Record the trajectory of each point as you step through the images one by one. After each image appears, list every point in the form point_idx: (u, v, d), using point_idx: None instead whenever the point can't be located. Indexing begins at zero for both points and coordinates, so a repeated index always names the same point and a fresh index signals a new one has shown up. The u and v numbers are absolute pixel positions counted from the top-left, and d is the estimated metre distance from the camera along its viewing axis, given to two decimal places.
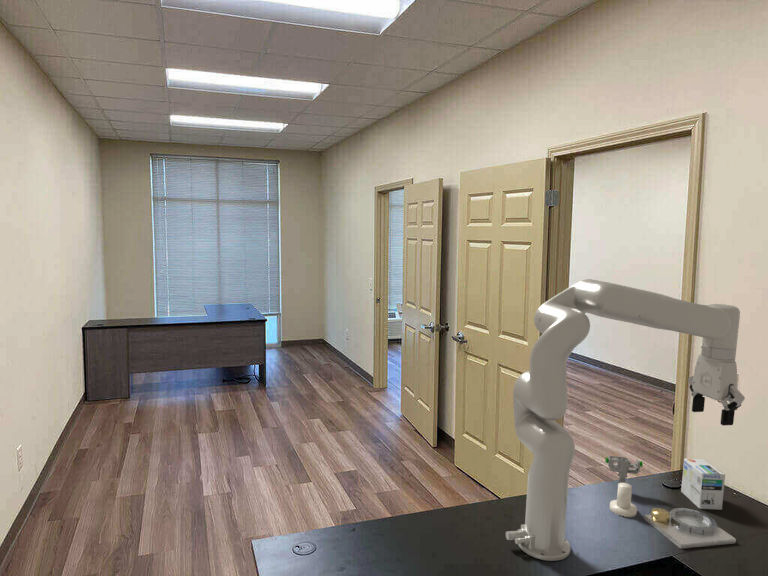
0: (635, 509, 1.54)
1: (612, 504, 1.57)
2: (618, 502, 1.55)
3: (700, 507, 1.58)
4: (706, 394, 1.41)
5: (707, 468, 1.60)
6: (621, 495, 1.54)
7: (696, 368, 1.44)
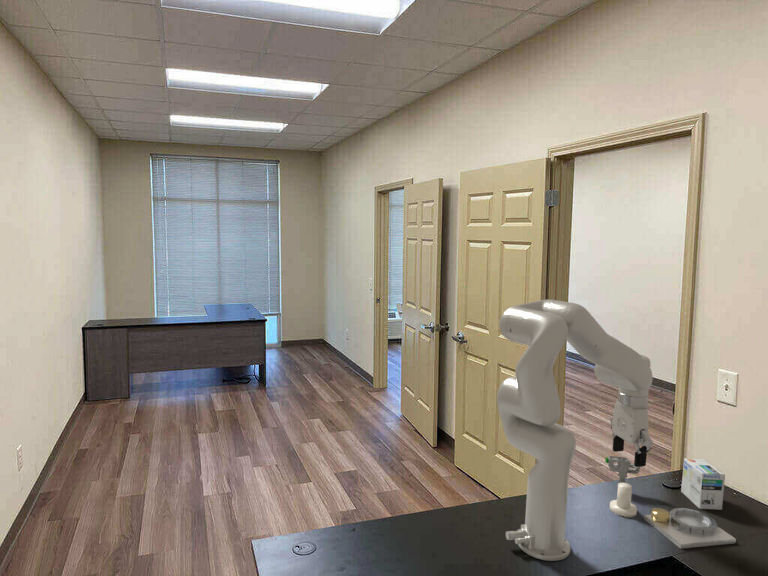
0: (635, 509, 1.54)
1: (612, 504, 1.57)
2: (618, 502, 1.55)
3: (700, 507, 1.58)
4: (622, 437, 1.53)
5: (707, 468, 1.60)
6: (621, 495, 1.54)
7: (614, 412, 1.56)
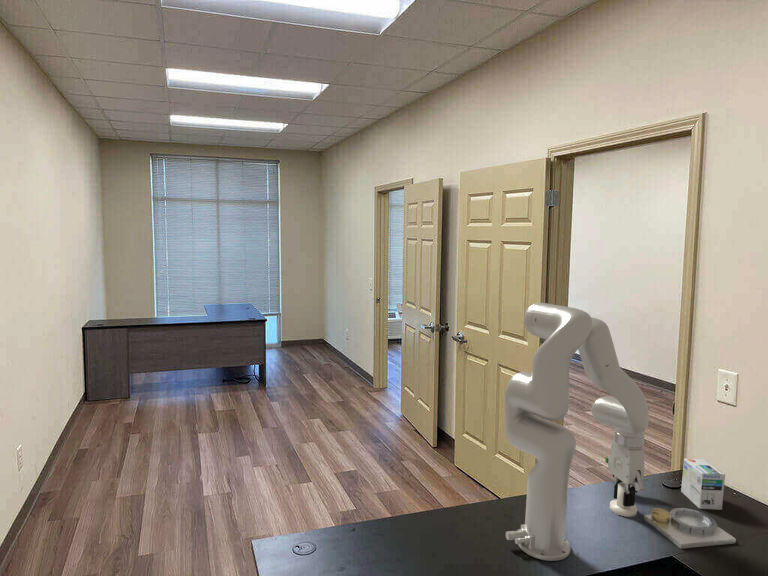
0: (635, 509, 1.54)
1: (612, 503, 1.57)
2: (618, 502, 1.55)
3: (700, 507, 1.58)
4: (618, 477, 1.54)
5: (707, 468, 1.60)
6: (621, 494, 1.54)
7: (611, 451, 1.57)
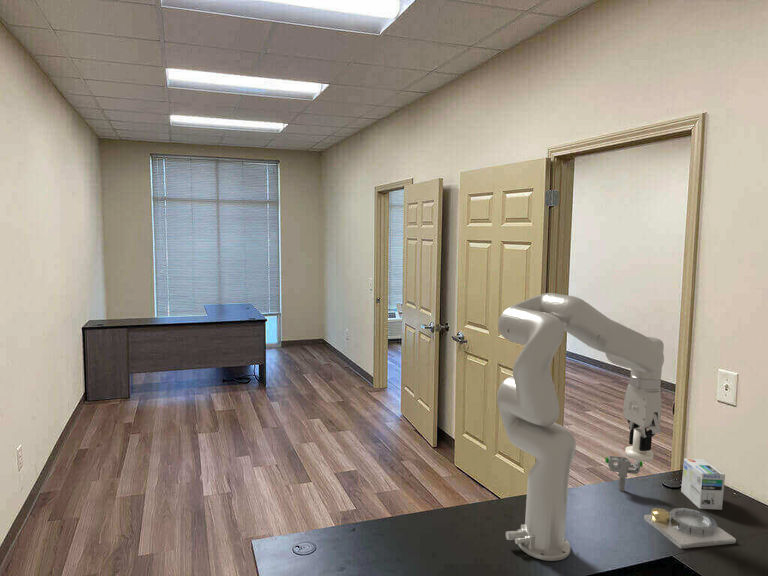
0: (651, 454, 1.51)
1: (627, 449, 1.53)
2: (634, 447, 1.52)
3: (700, 507, 1.58)
4: (634, 421, 1.50)
5: (707, 468, 1.60)
6: (637, 439, 1.51)
7: (626, 396, 1.54)
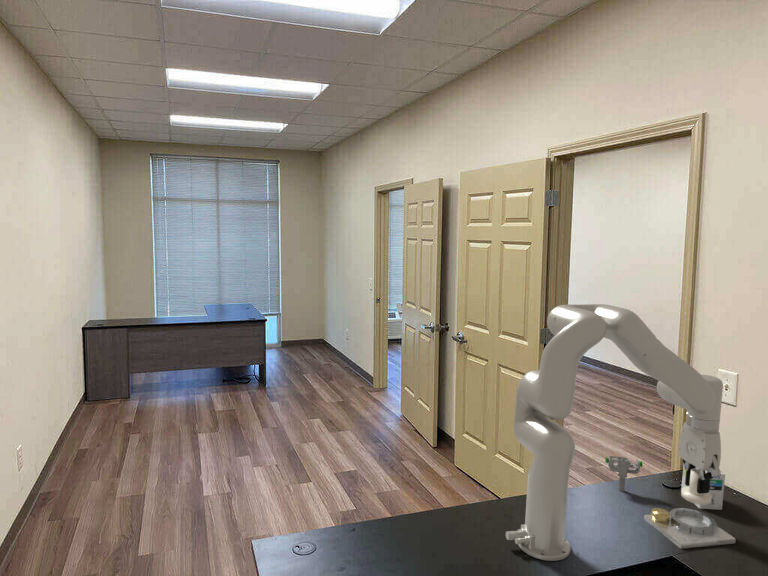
0: (710, 496, 1.46)
1: (684, 491, 1.48)
2: (691, 489, 1.47)
3: (700, 507, 1.58)
4: (691, 462, 1.45)
5: None
6: (695, 481, 1.46)
7: (682, 435, 1.49)
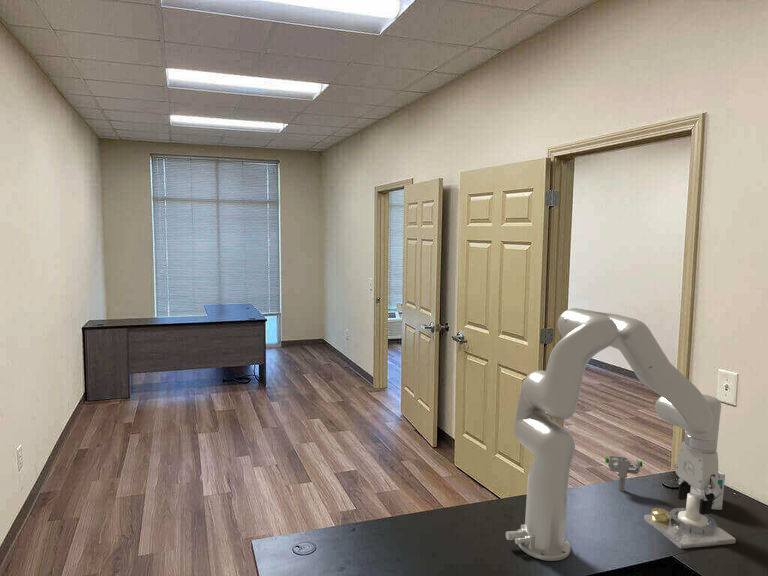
0: (706, 521, 1.46)
1: (680, 515, 1.49)
2: (688, 513, 1.47)
3: None
4: (689, 482, 1.46)
5: None
6: (691, 506, 1.46)
7: (679, 454, 1.49)
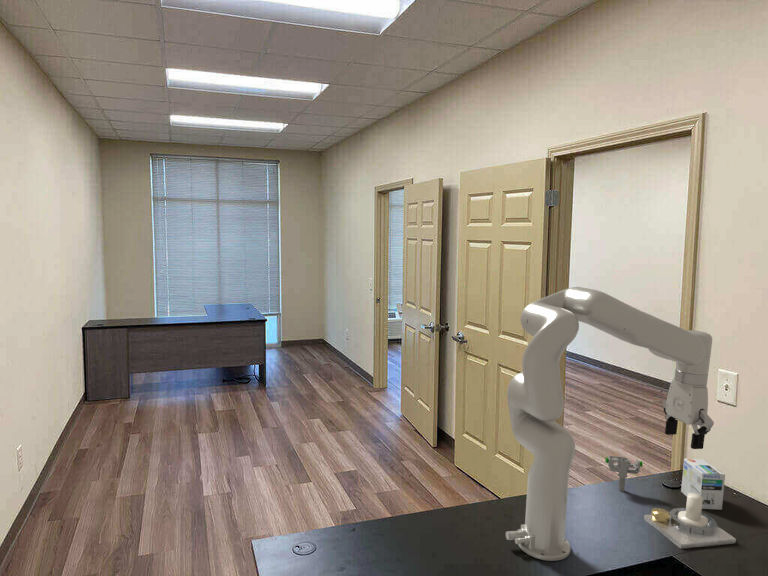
0: (706, 521, 1.46)
1: (680, 515, 1.49)
2: (688, 513, 1.47)
3: None
4: (678, 418, 1.44)
5: (707, 468, 1.60)
6: (691, 506, 1.46)
7: (669, 392, 1.48)
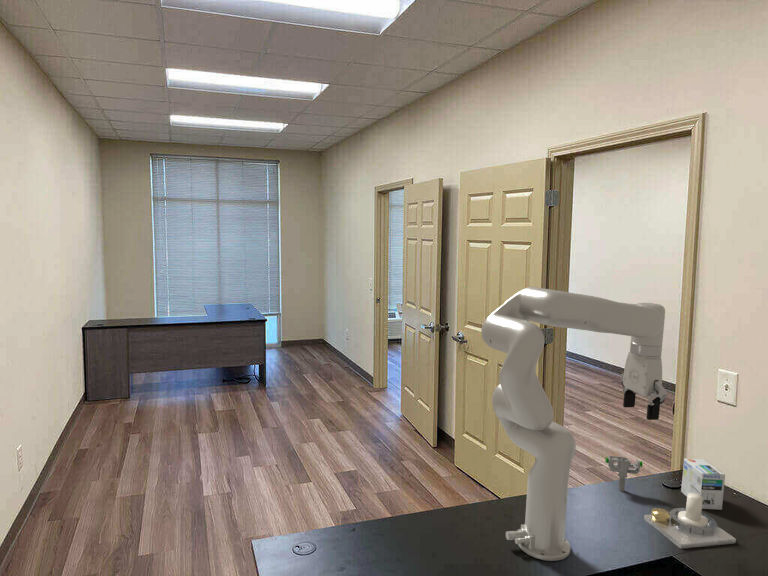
0: (706, 521, 1.46)
1: (680, 515, 1.49)
2: (688, 513, 1.47)
3: None
4: (634, 390, 1.45)
5: (707, 468, 1.60)
6: (691, 506, 1.46)
7: (626, 365, 1.49)
